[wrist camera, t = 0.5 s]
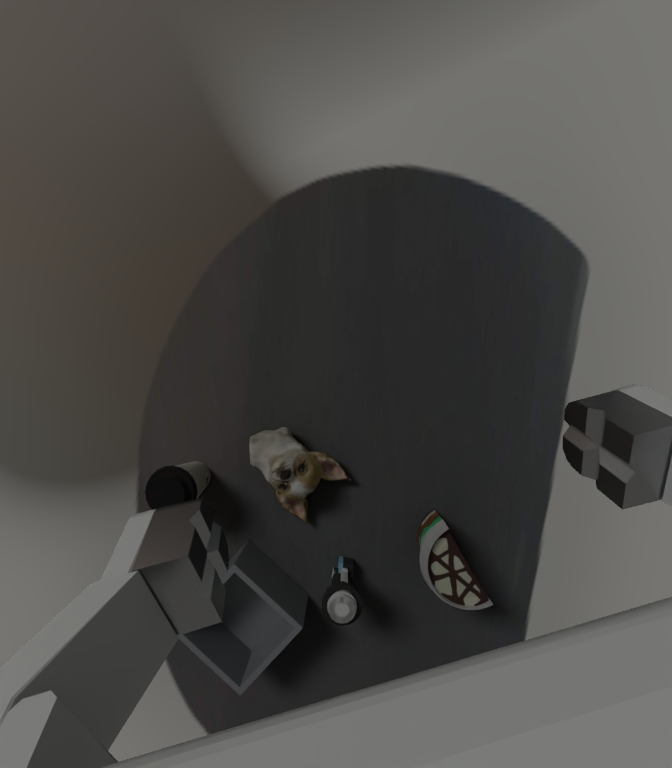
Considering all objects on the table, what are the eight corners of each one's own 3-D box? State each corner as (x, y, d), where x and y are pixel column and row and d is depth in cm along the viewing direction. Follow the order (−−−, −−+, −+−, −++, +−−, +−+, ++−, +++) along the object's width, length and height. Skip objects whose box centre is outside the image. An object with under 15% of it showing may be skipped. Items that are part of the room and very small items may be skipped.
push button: (354, 600, 60) (356, 644, 50) (320, 592, 60) (315, 635, 50) (362, 558, 60) (366, 593, 50) (328, 550, 60) (325, 585, 50)
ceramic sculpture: (276, 411, 51) (356, 489, 52) (283, 403, 59) (352, 471, 60) (219, 468, 51) (300, 545, 52) (235, 452, 60) (304, 518, 61)
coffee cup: (227, 472, 60) (203, 491, 50) (199, 507, 60) (170, 532, 50) (192, 444, 60) (162, 457, 50) (164, 479, 60) (129, 498, 50)
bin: (308, 594, 60) (303, 627, 52) (253, 653, 60) (240, 695, 52) (248, 539, 60) (234, 564, 52) (194, 598, 60) (171, 631, 52)
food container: (394, 520, 59) (404, 548, 49) (429, 500, 59) (446, 524, 49) (435, 589, 59) (453, 631, 49) (469, 569, 59) (495, 608, 49)
